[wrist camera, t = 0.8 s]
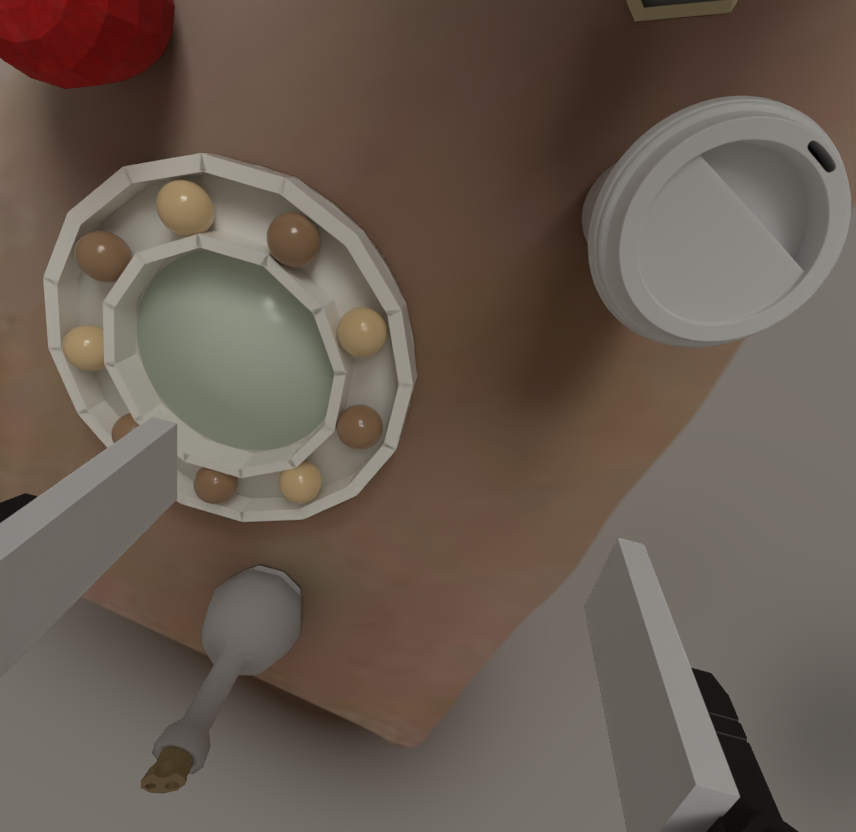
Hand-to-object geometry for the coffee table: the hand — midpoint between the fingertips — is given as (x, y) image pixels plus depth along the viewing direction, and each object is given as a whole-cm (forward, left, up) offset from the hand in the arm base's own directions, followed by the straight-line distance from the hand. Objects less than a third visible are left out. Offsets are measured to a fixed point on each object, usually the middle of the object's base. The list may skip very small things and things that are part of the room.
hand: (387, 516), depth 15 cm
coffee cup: (-10, +9, -24) cm, 28 cm away
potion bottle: (+31, -10, -24) cm, 41 cm away
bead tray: (+7, -15, -24) cm, 29 cm away
